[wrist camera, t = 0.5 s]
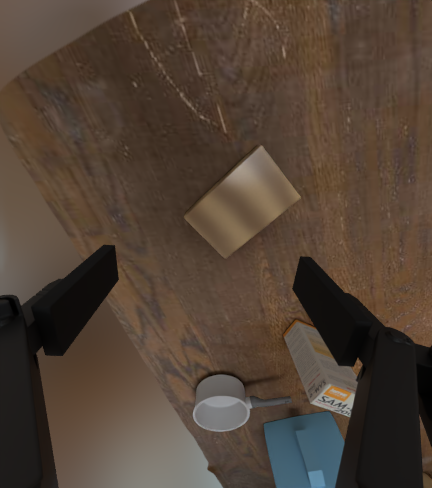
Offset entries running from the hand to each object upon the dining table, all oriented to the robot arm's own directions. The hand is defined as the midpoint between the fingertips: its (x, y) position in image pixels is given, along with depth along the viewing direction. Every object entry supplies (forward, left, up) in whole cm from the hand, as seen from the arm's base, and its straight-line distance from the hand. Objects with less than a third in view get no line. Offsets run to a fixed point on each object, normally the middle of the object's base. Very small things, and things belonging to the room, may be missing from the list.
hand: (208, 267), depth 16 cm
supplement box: (+3, +32, -20) cm, 37 cm away
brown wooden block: (-4, +3, -19) cm, 20 cm away
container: (+23, +60, -20) cm, 67 cm away
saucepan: (+22, +34, -20) cm, 45 cm away
